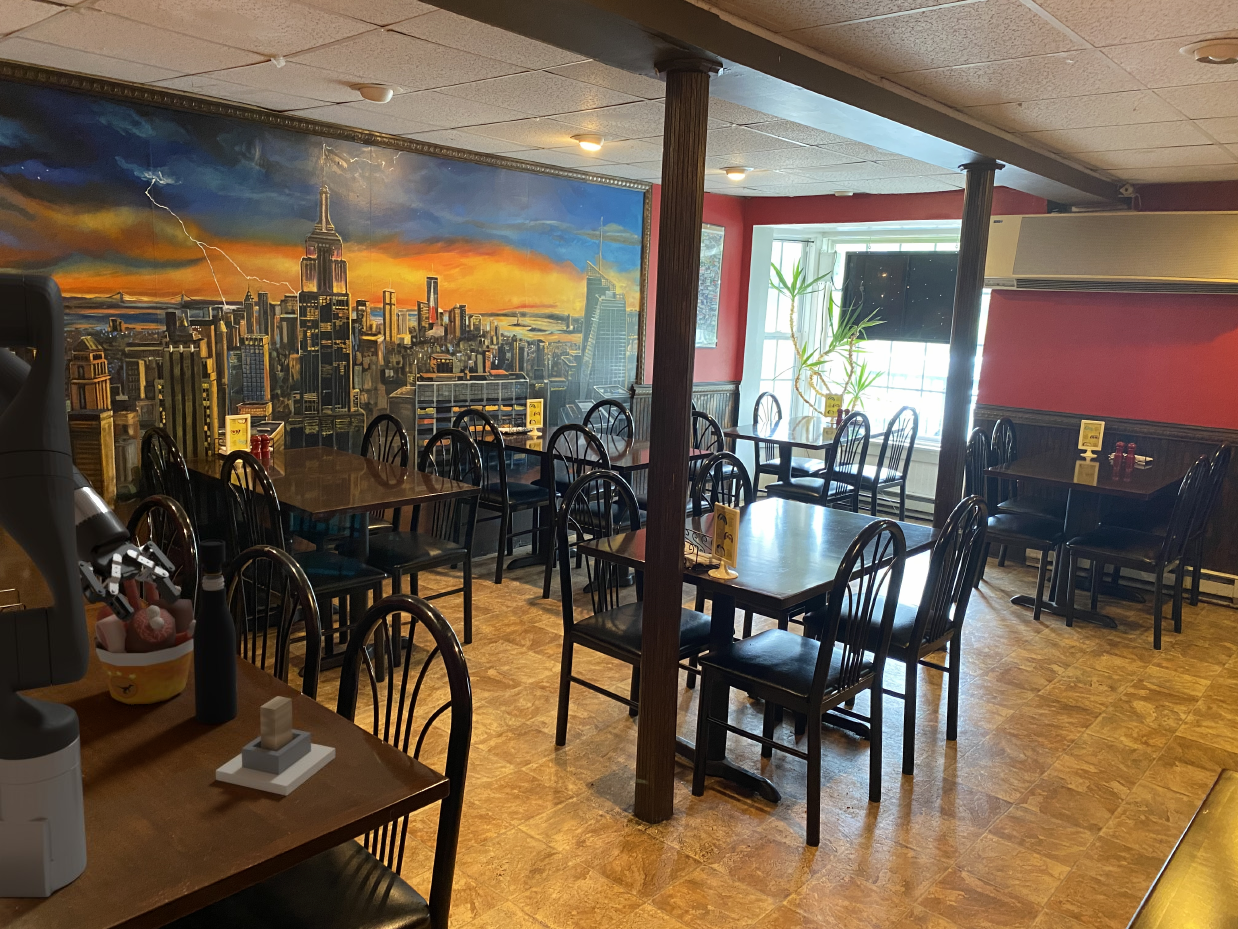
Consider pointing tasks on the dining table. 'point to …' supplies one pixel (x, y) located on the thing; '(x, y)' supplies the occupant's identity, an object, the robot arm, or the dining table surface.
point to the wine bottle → (214, 643)
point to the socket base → (276, 764)
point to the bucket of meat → (146, 647)
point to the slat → (276, 723)
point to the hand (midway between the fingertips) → (153, 609)
